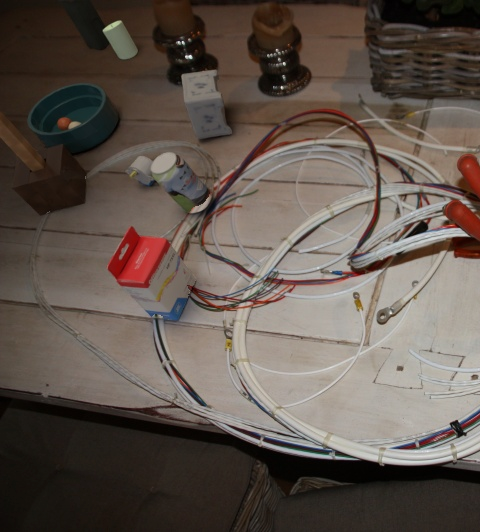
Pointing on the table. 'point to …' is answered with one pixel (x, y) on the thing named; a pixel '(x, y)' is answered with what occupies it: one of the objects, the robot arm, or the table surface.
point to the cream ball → (73, 124)
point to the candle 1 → (86, 22)
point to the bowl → (74, 117)
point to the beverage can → (179, 181)
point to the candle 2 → (120, 40)
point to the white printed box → (205, 104)
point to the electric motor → (141, 170)
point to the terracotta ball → (64, 123)
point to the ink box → (152, 274)
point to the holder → (51, 181)
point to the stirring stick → (20, 145)
